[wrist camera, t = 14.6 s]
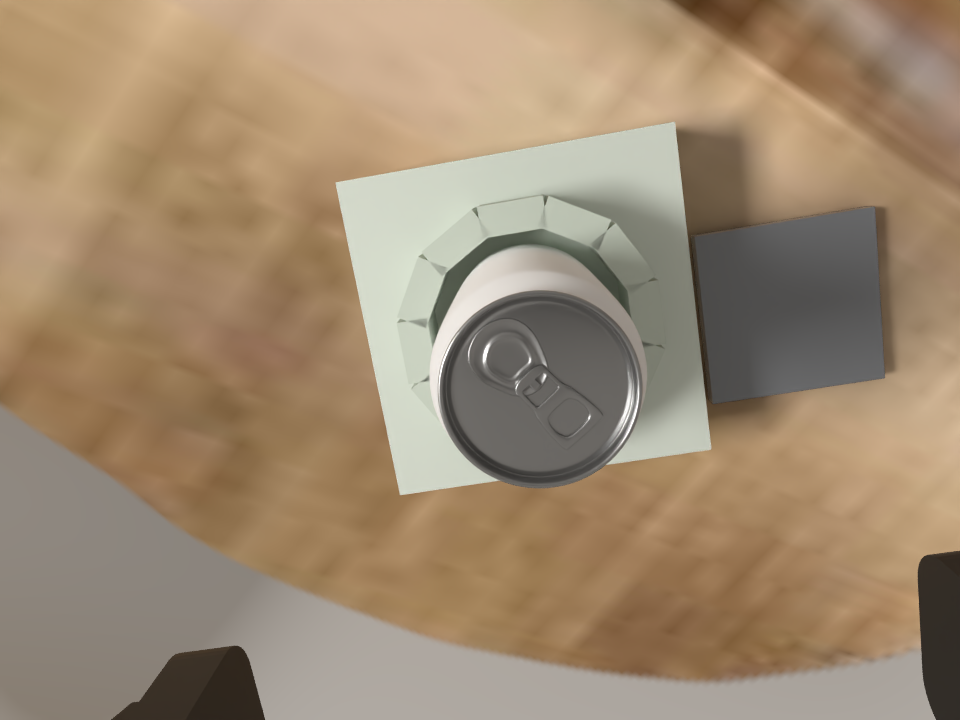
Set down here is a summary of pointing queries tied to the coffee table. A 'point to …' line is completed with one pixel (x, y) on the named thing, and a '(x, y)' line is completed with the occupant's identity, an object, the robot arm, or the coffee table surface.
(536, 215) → the pedestal block
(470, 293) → the can
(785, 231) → the slate coaster
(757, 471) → the coffee table surface
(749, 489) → the coffee table surface
